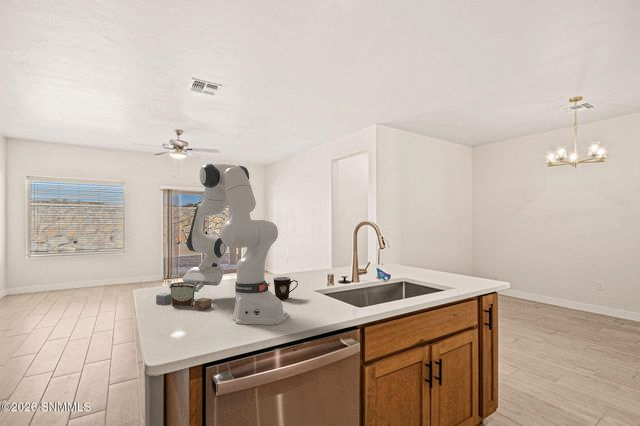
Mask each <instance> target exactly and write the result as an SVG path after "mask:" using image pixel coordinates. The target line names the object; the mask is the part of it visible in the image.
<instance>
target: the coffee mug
mask: <svg viewBox="0 0 640 426" xmlns="http://www.w3.org/2000/svg"><path fill="white" fill-rule="evenodd" d="M293 282H296V285H295V287H294V288H293V289H292V288H291V284H292V283H293ZM298 285H299V283H298V281H297V280H295V279H291V277H290V276H289V277H288V276H277V277H273V287H274V295H275V296H276V297H277V298H279V299H280V300H281V301H286V300H289V299H290V298H289V297H290V293H291V292H293V291H294V290H295V289H297V288H298ZM290 288H291V290H290Z"/></svg>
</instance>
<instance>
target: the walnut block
mask: <svg viewBox="0 0 640 426" xmlns="http://www.w3.org/2000/svg"><path fill="white" fill-rule="evenodd" d="M193 306H194V307H193V308H194V309H193V310H194V311H195V310H196V311H206V310H208V309H210V308H212V298H209V297H208V298H207V297H200V298H198V299H194V302H193Z"/></svg>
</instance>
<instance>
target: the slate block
mask: <svg viewBox="0 0 640 426" xmlns="http://www.w3.org/2000/svg"><path fill="white" fill-rule="evenodd" d="M170 303H172V300H171V292H163V293H160V294H156V295H155V304H159V305H166V304H170Z"/></svg>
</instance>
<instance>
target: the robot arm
mask: <svg viewBox="0 0 640 426" xmlns="http://www.w3.org/2000/svg"><path fill="white" fill-rule="evenodd" d="M199 181H200V183H201V184H202V185H203V187H204V192H203V200H202V201H201V203H199V204H198V205H197V206H196V208H195V211H194V214H193V218H192V221H191V222H192V223H191V226H190V229H189V233H188V236H187V239H186V241H185V243H186V244H185V245H186V247H187V249H188V250H189V251H190V252H194V253H201V254H203V255H204V254H205V256H204V257H203V258H202V260H201V261H200V263H199V265H198V267H197V266H194V267H191V268H189V269H188V270H187V271H186V273H185V274H184V275H183V276H182V278H181V279H182V282H194V283H195V284H196V287H197V288H196V289H195V293H199V291H200V290H201V289H203V288H204V287H205V286H214V287H215V286H216V287H218V286H219V285H220V284H221V283H222V280H223V277H224V276H223V275H224V274H225V271H224V269H223V266H221V262H222V261H223V259H224V258H225V255H226V253H227V251H228V248H235V249H243V248H246V251H245V253H244V254H243V256H242V257H241V258H239V259H238V260H237V263H236V281H235V286H234V287H235V301H234V308H233V309H234V310H233V312H232V316H231V318H232V320H234V321H235V324H240V325H241V324H242V325H243V324H244V325H269V326H270V325H272V326H273V325H278V324H280V323H283V322H284V321H286V320H287V319H288V318H289V317H290V316H289V312H288V311H284V306H283V302H282V300H280V299H279V298H277V297H276V296H275V293H273V292H271V291H270V290H269V286H271V282H268V283H267V281H266V280H265V268H266V267H265V266H266V260H267V256H268V253H269V251H270V249H271V246H273V244H274V243H275V242H276V241H277V239H278V237H279V228H278V226H277V225H276V224H275V222H272V221H269V220H266V219H265V220H263V219H252V217H251V213H252V212H253V211H254V210H255V209H256V205H257V202H256V201H257V200H256V197H255V195H254V191H253V188H252V185H251V181H250V172H249V171H248V169H247V167H246V166H243V165H240V164H238V165H235V164H227V163H215V164H213V163H207V164H204V165H202V167H201V168H200V171H199ZM227 206H228V210H229V213H228V214H229V216H228V218H227V220H226V222H225V223H224V224H223V225H222V227H221V229H220V233H219V234H220V237H219V236H216V235H210V234H206V233H203V232H202V228H203V223H204V219H205V218H206V217H210V216H216V215H219V214H221V213H223V212H224V211H225V210H226V209H227Z"/></svg>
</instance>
